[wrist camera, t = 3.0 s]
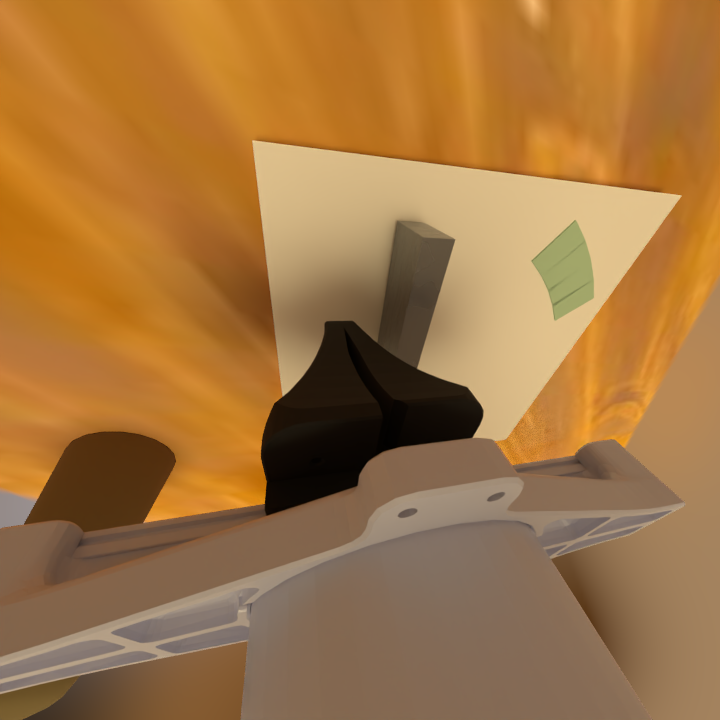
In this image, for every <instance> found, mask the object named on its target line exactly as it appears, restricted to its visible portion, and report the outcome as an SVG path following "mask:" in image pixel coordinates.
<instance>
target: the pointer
mask: <svg viewBox="0 0 720 720" xmlns="http://www.w3.org/2000/svg"><path fill="white" fill-rule="evenodd" d="M454 243H455V239H454V238H452V237H450V236H448V235H447V234H445V233H443V232H441V231H439V230H437V229H435V228H433V227H431V226H430V225H428V224H426V223H423V222H410V221H397V226H396V232H395V238H394V244H393V250H392V256H391V262H390V268H389V274H388V280H387V287H386V293H385V299H384V305H383V311H382V317H381V323H380V329H379V335H378V341H377V343H378V344H379V345H380V346H382V347H383V348H384V349H386V350H387V351H388V352H390V353H391V354H393V355H394V356H396V357H397V358H399V359H401V360H402V361H404V362H406V363H407V364H409V365H411V366H413V367H415V368H417V367H418V364H419V360H420V357H421V353H422V350H423V347H424V343H425V340H426V337H427V333H428V330H429V327H430V323H431V320H432V317H433V313H434V310H435V306H436V303H437V300H438V296H439V293H440V290H441V286H442V283H443V280H444V276H445V273H446V270H447V266H448V263H449V259H450V256H451V253H452V249H453V246H454Z"/></svg>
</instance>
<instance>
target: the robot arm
mask: <svg viewBox="0 0 720 720" xmlns="http://www.w3.org/2000/svg"><path fill="white" fill-rule="evenodd" d="M483 413H484V410H483V408H482V406H481V404H480V403H479V402H478V400H477V399H476V398H475V396H474V395H473V394H472V392H471V391H470V390H469V388H468V387H466V386H462V385H459V384H456V383H453V382H449V381H446V380H443V379H440V378H438V377H435V376H433V375H430V374H428V373H426V372H423V371H421V370H419V369H417V368H415V367H413V366H411V365H409V364H407V363H406V362H404V361H402V360H401V359H399V358H397V357H396V356H394V355H393V354H391V353H390V352H388V351H387V350H386V349H384V348H383V347H382V346H380V345H379V344H378V343H377V342H375V341H374V340H373V339H372V338H371V337H370V336H369V335H368V334H366V333H365V332H364V331H363V330H362V329H361V328H360V327H359V326H358V325H357V324H356V323H355V322H354V321H326V322H325V323H324V337H323V340H322V343H321V346H320V348H319V350H318V352H317V355H316V357H315V358H314V360H313V362H312V364H311V365H310V367H309V368H308V370H307V371H306V372H305V374H304V375H303V376H302V378H301V379H300V380H299V381H298V382H297V383H296V384H295V385H294V387H293V388H292V389H291V390H290V391H289V392H288V393H286V394H285V395H284V396H283V397H282V398H281V399H279V400H278V401H277V402H276V403H274V406H273V408H272V410H271V412H270V415H269V417H268V420H267V423H266V426H265V429H264V433H263V438H262V447H261V460H262V464H263V468H264V472H265V476H266V481H267V485H266V497H265V504H262V505H256V506H250V507H243V508H237V509H230V510H224V511H218V512H211V513H205V514H198V515H192V516H186V517H179V518H173V519H167V520H160V521H154V522H147V523H141V524H135V525H128V526H122V527H115V528H109V529H103V530H96V531H90V532H83V531H82V529H81V528H80V527H79V526H78V525H76V524H75V523H72V522H70V521H62V520H56V521H46V522H39V523H32V524H25V525H18V526H12V527H5V528H1V529H0V694H2V693H6V692H10V691H15V690H19V689H23V688H27V687H31V686H35V685H39V684H43V683H48V682H52V681H57V680H61V679H65V678H70V677H74V676H79V675H83V674H88V673H92V672H97V671H102V670H106V669H111V668H116V667H121V666H125V665H130V664H135V663H140V662H145V661H150V660H155V659H160V658H165V657H170V656H175V655H180V654H185V653H190V652H195V651H200V650H205V649H210V648H215V647H220V646H225V645H230V644H234V643H240V642H245V641H248V647H247V658H246V669H245V680H244V691H243V701H242V712H241V720H652V718H651V717H650V715H649V713H648V712H647V710H646V709H645V707H644V706H643V704H642V702H641V701H640V699H639V698H638V696H637V695H636V693H635V692H634V690H633V688H632V687H631V685H630V684H629V682H628V681H627V679H626V677H625V676H624V674H623V673H622V671H621V669H620V668H619V666H618V665H617V663H616V661H615V660H614V659H613V657H612V655H611V654H610V652H609V650H608V649H607V647H606V646H605V644H604V643H603V641H602V639H601V638H600V636H599V635H598V633H597V632H596V630H595V628H594V627H593V625H592V624H591V622H590V620H589V619H588V618H587V616H586V614H585V613H584V611H583V609H582V608H581V606H580V605H579V603H578V602H577V600H576V598H575V597H574V595H573V594H572V592H571V590H570V589H569V587H568V586H567V584H566V583H565V581H564V579H563V578H562V577H561V575H560V573H559V572H558V571H557V568H556V567H555V565H554V564H553V562H552V561H551V558H554V557H557V556H560V555H563V554H566V553H569V552H573V551H576V550H579V549H582V548H585V547H589V546H592V545H595V544H599V543H602V542H606V541H609V540H613V539H617V538H620V537H624V536H628V535H630V534H632V533H634V532H636V531H638V530H640V529H642V528H644V527H646V526H648V525H649V524H651V523H653V522H655V521H657V520H659V519H661V518H662V517H665V516H666V515H668V514H670V513H672V512H674V511H676V510H678V509H680V508H681V507H683V506H685V502H684V501H683V500H681V498H679V497H678V496H677V495H676V494H675V493H674V492H673V491H672V490H670V489H669V488H668V487H667V486H666V485H665V484H664V483H662V482H661V481H660V480H659V479H658V478H657V477H656V476H655V475H654V474H653V473H651V472H650V471H649V470H648V469H647V468H645V466H644V465H642V464H641V463H640V462H639V461H638V460H637V459H636V458H634V457H633V456H632V455H631V454H630V453H629V452H628V451H627V450H626V449H624V448H623V447H622V446H621V445H620V444H619V443H618V442H617V441H615V440H612V439H610V440H603V441H596V442H591V443H588V444H586V445H584V446H583V447H581V448H580V449H579V450H578V451H577V452H576V453H575V456H569V457H562V458H556V459H550V460H543V461H537V462H530V463H524V464H518V465H511V463H510V462H509V460H508V459H507V458H506V456H505V455H504V453H503V452H502V450H501V449H500V448H499V446H498V445H497V444H496V443H495V442H494V441H493V440H492V439H487V438H473V436H474V434H475V433H476V431H477V429H478V428H479V426H480V424H481V421H482V419H483Z"/></svg>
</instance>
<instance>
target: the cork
mask: <svg viewBox="0 0 720 720" xmlns="http://www.w3.org/2000/svg"><path fill="white" fill-rule="evenodd" d="M175 462H176V460H175V456H174V454H173V453H172V451H171V450H170V449H169V448H168V447H167V446H165V445H163V444H162V443H160V442H158V441H156V440H154V439H151V438H148V437H145V436H142V435H138V434H131V433H125V432H100V433H94V434H88V435H85V436H82V437H80V438H78V439H76V440H73V441H72V442H71V443H70V444H69V445H68V447H67V448H66V449H65V451H64V453H63V454H62V456H61V458H60V460H59V462H58V463H57V465H56V467H55V469H54V471H53V472H52V474H51V476H50V478H49V480H48V482H47V483H46V485H45V487H44V489H43V491H42V492H41V494H40V496H39V498H38V500H37V501H36V503H35V505H34V507H33V509H32V510H31V513H30V514H29V516H28V518H27V519H26V521H25V523H24V525H25V524H32V523H39V522H46V521H56V520H62V521H70V522H72V523H75V524H76V525H78V526H79V527H80V528H81V529H82V531H83V532H90V531H96V530H103V529H109V528H115V527H122V526H128V525H135V524H141V523H143V522H144V520H145V518H146V517H147V515H148V513H149V511H150V509H151V508H152V506H153V504H154V502H155V500H156V499H157V497H158V495H159V493H160V491H161V489H162V488H163V486H164V484H165V482H166V480H167V479H168V477H169V475H170V473H171V471H172V469H173V467H174V465H175ZM79 676H80V675H79ZM79 676H74V677H70V678H65V679H61V680H57V681H52V682H48V683H43V684H39V685H35V686H31V687H27V688H23V689H19V690H15V691H10V692H6V693H2V694H0V720H22V719H24V718H26V717H28V716H30V715H33V714H35V713H37V712H39V711H41V710H43V709H45V708H47V707H49V706H50V705H52V704H53V703H54V702H56V701H57V700H59V699H60V698H61V697H63V695H64V694H65V693H66V692H67V691H68V690H69V688H70V687H71V686H72V685H73V683H74V682H75V681H76V680H77V679H78V677H79Z"/></svg>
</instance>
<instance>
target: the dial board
mask: <svg viewBox="0 0 720 720" xmlns="http://www.w3.org/2000/svg"><path fill="white" fill-rule="evenodd" d="M252 142H253V151H254V159H255V168H256V176H257V185H258V193H259V202H260V210H261V218H262V227H263V235H264V244H265V252H266V261H267V269H268V278H269V286H270V295H271V303H272V311H273V320H274V328H275V337H276V345H277V354H278V362H279V371H280V379H281V388H282V396H284V395H285V394H286V393H288V392H289V391H290V390H291V389H292V388H293V387H294V385H295V384H296V383H297V382H298V381H299V380H300V379H301V378H302V376H303V375H304V374H305V372H306V371H307V370H308V368H309V367H310V365H311V364H312V362H313V360H314V358H315V357H316V355H317V352H318V350H319V348H320V346H321V343H322V340H323V337H324V323H325V322H326V321H354V322H355V323H356V324H357V325H358V326H359V327H360V328H361V329H362V330H363V331H364V332H365V333H366V334H368V335H369V336H370V337H371V338H372V339H373V340H374V341H375V342H377V341H378V335H379V329H380V323H381V317H382V311H383V305H384V299H385V293H386V287H387V280H388V274H389V268H390V262H391V256H392V250H393V244H394V238H395V232H396V226H397V221H410V222H423V223H426V224H428V225H430V226H431V227H433V228H435V229H437V230H439V231H441V232H443V233H445V234H447V235H448V236H450V237H452V238H454V239H455V243H454V246H453V249H452V253H451V256H450V259H449V263H448V266H447V270H446V273H445V276H444V280H443V283H442V286H441V290H440V293H439V296H438V300H437V303H436V306H435V310H434V313H433V317H432V320H431V323H430V327H429V330H428V333H427V337H426V340H425V343H424V347H423V350H422V353H421V357H420V360H419V364H418V367H417V369H419V370H421V371H423V372H426V373H428V374H430V375H433V376H435V377H438V378H440V379H443V380H446V381H449V382H453V383H456V384H459V385H462V386H466V387H468V388H469V390H470V391H471V392H472V394H473V395H474V396H475V398H476V399H477V400H478V402H479V403H480V404H481V406H482V408H483V410H484V413H483V419H482V421H481V424H480V426H479V428H478V429H477V431H476V433H475V434H474V436H473V438H487V439H492V440H493V441H499V440H506V439H507V437H508V436H509V434H510V433H511V432H512V430H513V429H514V428H515V426H516V425H517V423H518V422H519V421H520V419H521V418H522V416H523V415H524V414H525V412H526V411H527V409H528V408H529V407H530V405H531V404H532V403H533V401H534V400H535V398H536V397H537V396H538V394H539V393H540V391H541V390H542V389H543V387H544V386H545V384H546V383H547V382H548V380H549V379H550V378H551V376H552V375H553V373H554V372H555V371H556V369H557V368H558V366H559V365H560V364H561V362H562V361H563V360H564V358H565V357H566V355H567V354H568V353H569V351H570V350H571V348H572V347H573V346H574V344H575V343H576V341H577V340H578V339H579V337H580V336H581V335H582V333H583V332H584V330H585V329H586V328H587V326H588V325H589V323H590V322H591V321H592V319H593V318H594V316H595V315H596V314H597V312H598V311H599V310H600V308H601V307H602V305H603V304H604V303H605V301H606V300H607V298H608V297H609V296H610V294H611V293H612V292H613V290H614V289H615V287H616V286H617V285H618V283H619V282H620V280H621V279H622V278H623V276H624V275H625V273H626V272H627V271H628V269H629V268H630V267H631V265H632V264H633V262H634V261H635V260H636V258H637V257H638V255H639V254H640V253H641V251H642V250H643V248H644V247H645V246H646V244H647V243H648V242H649V240H650V239H651V237H652V236H653V235H654V233H655V232H656V230H657V229H658V228H659V226H660V225H661V223H662V222H663V221H664V219H665V218H666V217H667V215H668V214H669V212H670V211H671V210H672V208H673V207H674V205H675V204H676V203H677V201H678V200H679V199H680V197H681V195H674V194H666V193H658V192H650V191H643V190H635V189H627V188H619V187H611V186H604V185H596V184H588V183H580V182H572V181H565V180H557V179H549V178H541V177H534V176H526V175H518V174H510V173H502V172H495V171H487V170H479V169H471V168H464V167H456V166H448V165H440V164H432V163H425V162H417V161H409V160H401V159H394V158H386V157H378V156H370V155H362V154H355V153H347V152H339V151H331V150H324V149H316V148H308V147H300V146H292V145H285V144H277V143H269V142H261V141H254V140H252Z"/></svg>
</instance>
